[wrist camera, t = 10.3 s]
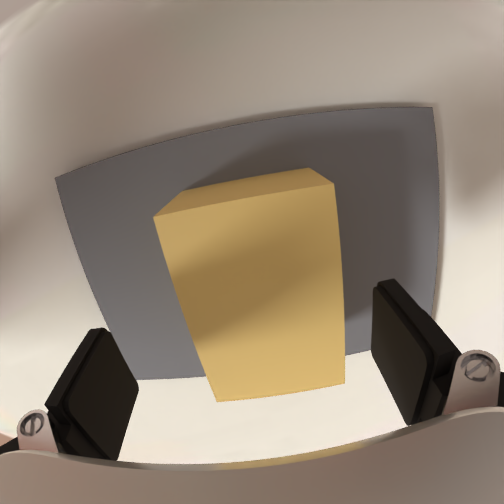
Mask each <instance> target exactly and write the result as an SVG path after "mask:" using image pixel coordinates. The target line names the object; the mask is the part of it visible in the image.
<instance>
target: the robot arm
mask: <svg viewBox="0 0 504 504" xmlns="http://www.w3.org/2000/svg"><path fill="white" fill-rule="evenodd" d="M371 353H372V356H373V358H374V360H375V362H376V364H377V366H378V368H379V370H380V372H381V374H382V376H383V378H384V380H385V382H386V384H387V386H388V388H389V390H390V392H391V394H392V396H393V398H394V400H395V402H396V404H397V406H398V409H399V411H400V413H401V415H402V417H403V419H404V421H405V423H406V425H408V427H405V428H402V429H399V430H396V431H392V432H389V433H386V434H383V435H379V436H376V437H372V438H369V439H365V440H361V441H357V442H353V443H350V444H346V445H341V446H337V447H333V448H328V449H324V450H319V451H314V452H309V453H303V454H298V455H291V456H285V457H278V458H271V459H263V460H254V461H244V462H232V463H215V464H151V463H135V462H123V461H116V460H117V459H118V457H119V453H120V450H121V446H122V443H123V439H124V436H125V433H126V429H127V426H128V423H129V420H130V417H131V413H132V410H133V407H134V404H135V401H136V398H137V395H138V391H139V387H138V383H137V381H136V379H135V378H134V376H133V374H132V372H131V370H130V369H129V367H128V365H127V363H126V361H125V359H124V357H123V355H122V353H121V351H120V350H119V348H118V346H117V344H116V342H115V340H114V337H113V335H112V334H111V332H109V331H107V330H106V329H105V328H96V329H90V330H89V331H88V333H87V334H86V336H85V338H84V339H83V341H82V342H81V344H80V345H79V347H78V349H77V350H76V352H75V353H74V355H73V357H72V358H71V360H70V361H69V363H68V365H67V366H66V368H65V370H64V371H63V373H62V375H61V376H60V378H59V380H58V381H57V383H56V385H55V387H54V388H53V390H52V392H51V394H50V395H49V397H48V399H47V401H46V402H45V404H44V405H45V406H46V407H47V409H48V410H49V411H48V413H46V412H44V411H43V410H39V409H38V410H32V411H30V412H28V413H27V414H25V415H24V416H23V417H22V418H21V420H20V421H19V423H18V426H17V436H18V437H16V438H14V439H13V440H11V441H9V442H7V443H6V444H4V445H2V446H0V504H504V372H500V364H499V362H498V360H497V359H496V358H495V357H494V356H493V355H492V354H490V353H488V352H486V351H482V350H471V351H467V352H465V353H463V354H462V353H461V352H460V351H459V350H458V348H457V347H456V346H455V345H454V344H453V342H452V341H451V340H450V339H449V338H448V336H447V335H446V334H445V333H444V332H443V330H442V329H441V328H440V327H439V326H438V325H437V323H436V322H435V321H434V320H433V319H432V318H431V316H430V315H429V314H428V313H427V312H426V311H425V310H424V309H422V308H421V307H420V306H419V305H418V304H417V303H416V302H415V300H414V299H413V298H412V297H411V296H410V295H409V294H408V293H407V292H406V290H405V289H404V288H403V287H402V286H401V285H400V284H399V283H398V282H397V281H396V280H395V279H394V278H392V279H388V280H384V281H379V282H378V283H377V286H376V287H374V288H373V303H372V334H371ZM409 425H411V426H409Z"/></svg>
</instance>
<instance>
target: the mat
mask: <svg viewBox="0 0 504 504" xmlns="http://www.w3.org/2000/svg"><path fill="white" fill-rule="evenodd" d="M303 168H311V169H312V170H314V171H315V172H317V173H318V174H320V175H322V176H323V177H325V178H326V179H328V180H329V181H331V182H332V183H334V188H335V197H336V206H337V215H338V225H339V236H340V248H341V262H342V277H343V297H344V324H345V356H346V355H351V354H355V353H360V352H364V351H368V350H371V334H372V303H373V288H374V287H376V286H377V283H378V282H379V281H384V280H388V279H392V278H394V279H395V280H396V281H397V282H398V283H399V284H400V285H401V286H402V287H403V288H404V289H405V290H406V292H407V293H408V294H409V295H410V296H411V297H412V298H413V299H414V300H415V302H416V303H417V304H418V305H419V306H420V307H421V308H422V309H424V310H425V311H426V312H427V313H428V314H429V315H430V316H431V313H432V306H433V298H434V290H435V281H436V270H437V257H438V240H439V174H438V157H437V144H436V134H435V125H434V117H433V109H432V107H391V108H368V109H353V110H340V111H329V112H319V113H310V114H302V115H294V116H287V117H280V118H274V119H267V120H261V121H255V122H250V123H244V124H239V125H233V126H228V127H224V128H219V129H214V130H209V131H205V132H201V133H196V134H192V135H188V136H184V137H180V138H176V139H172V140H168V141H164V142H161V143H157V144H153V145H150V146H146V147H143V148H139V149H136V150H133V151H130V152H126V153H123V154H120V155H117V156H114V157H111V158H108V159H105V160H102V161H99V162H96V163H93V164H90V165H88V166H85V167H82V168H79V169H77V170H74V171H71V172H69V173H66V174H64V175H61V176H58V177H56V178H55V180H56V184H57V188H58V192H59V195H60V199H61V203H62V206H63V210H64V213H65V216H66V220H67V223H68V226H69V229H70V232H71V235H72V238H73V241H74V244H75V247H76V250H77V253H78V255H79V258H80V261H81V264H82V266H83V269H84V272H85V274H86V277H87V279H88V282H89V284H90V287H91V289H92V292H93V294H94V296H95V299H96V301H97V303H98V306H99V308H100V310H101V312H102V315H103V317H104V319H105V321H106V323H107V326H108V328H109V330H110V332H111V334H112V335H113V337H114V340H115V342H116V344H117V346H118V348H119V350H120V351H121V353H122V355H123V357H124V359H125V361H126V363H127V365H128V367H129V369H130V370H131V372H132V374H133V376H134V378H135V379H136V380H150V379H174V378H190V377H204V376H206V374H205V371H204V369H203V366H202V364H201V361H200V358H199V356H198V353H197V351H196V348H195V345H194V343H193V340H192V337H191V334H190V332H189V329H188V326H187V323H186V320H185V318H184V315H183V312H182V309H181V306H180V303H179V300H178V297H177V294H176V291H175V288H174V285H173V282H172V279H171V276H170V273H169V270H168V266H167V263H166V260H165V257H164V253H163V250H162V247H161V243H160V240H159V236H158V233H157V229H156V226H155V222H154V219H153V217H154V216H155V215H156V214H157V213H158V212H159V211H160V210H161V209H162V208H164V207H165V206H166V205H167V204H168V203H169V202H170V201H171V200H172V199H174V198H175V197H176V196H177V195H178V194H179V193H180V192H182V191H185V190H189V189H194V188H199V187H203V186H208V185H213V184H218V183H223V182H228V181H233V180H238V179H244V178H249V177H255V176H260V175H266V174H272V173H278V172H284V171H290V170H296V169H303Z"/></svg>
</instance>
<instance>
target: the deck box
mask: <svg viewBox="0 0 504 504" xmlns="http://www.w3.org/2000/svg"><path fill="white" fill-rule="evenodd" d="M153 219H154V222H155V226H156V229H157V233H158V236H159V240H160V243H161V247H162V250H163V253H164V257H165V260H166V263H167V266H168V270H169V273H170V276H171V279H172V282H173V285H174V288H175V291H176V294H177V297H178V300H179V303H180V306H181V309H182V312H183V315H184V318H185V320H186V323H187V326H188V329H189V332H190V334H191V337H192V340H193V343H194V345H195V348H196V351H197V353H198V356H199V358H200V361H201V364H202V366H203V369H204V371H205V374H206V376H207V379H208V381H209V384H210V386H211V389H212V391H213V394H214V396H215V398H216V401H217V402H223V401H235V400H245V399H254V398H262V397H270V396H277V395H284V394H291V393H297V392H303V391H309V390H314V389H320V388H325V387H330V386H335V385H339V384H344V383H345V324H344V297H343V277H342V262H341V248H340V236H339V225H338V215H337V206H336V197H335V188H334V183H332V182H331V181H329V180H328V179H326V178H325V177H323V176H322V175H320V174H318V173H317V172H315V171H314V170H312V169H311V168H303V169H296V170H290V171H284V172H278V173H272V174H266V175H260V176H255V177H249V178H244V179H238V180H233V181H228V182H223V183H218V184H213V185H208V186H203V187H199V188H194V189H189V190H185V191H182V192H180V193H179V194H178V195H177V196H176V197H175V198H174V199H172V200H171V201H170V202H169V203H168V204H167V205H166V206H165V207H164V208H162V209H161V210H160V211H159V212H158V213H157V214H156V215H155V216H154V217H153Z"/></svg>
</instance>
